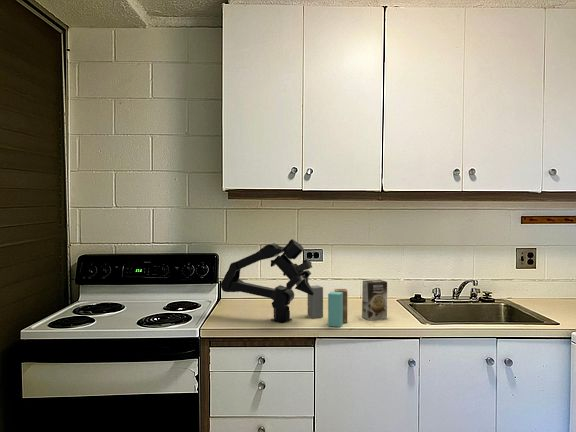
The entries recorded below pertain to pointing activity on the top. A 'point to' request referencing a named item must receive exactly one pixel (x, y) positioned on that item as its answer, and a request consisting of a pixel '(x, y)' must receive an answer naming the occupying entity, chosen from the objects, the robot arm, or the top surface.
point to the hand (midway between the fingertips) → (313, 294)
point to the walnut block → (344, 303)
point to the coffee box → (374, 299)
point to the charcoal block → (315, 302)
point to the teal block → (335, 309)
